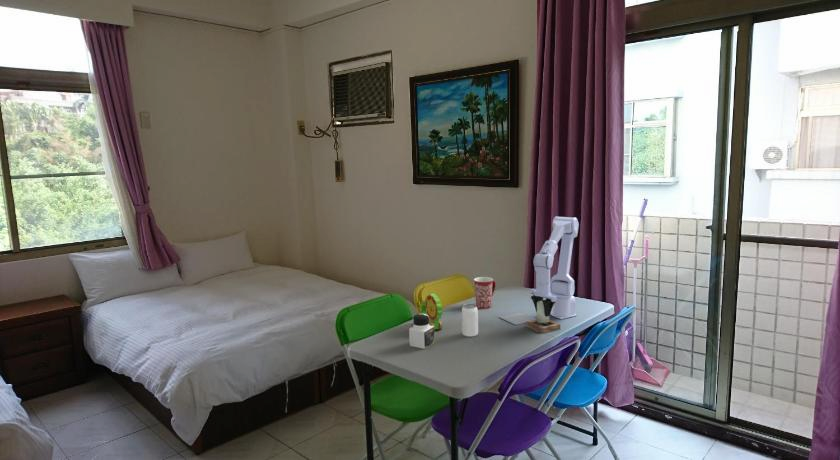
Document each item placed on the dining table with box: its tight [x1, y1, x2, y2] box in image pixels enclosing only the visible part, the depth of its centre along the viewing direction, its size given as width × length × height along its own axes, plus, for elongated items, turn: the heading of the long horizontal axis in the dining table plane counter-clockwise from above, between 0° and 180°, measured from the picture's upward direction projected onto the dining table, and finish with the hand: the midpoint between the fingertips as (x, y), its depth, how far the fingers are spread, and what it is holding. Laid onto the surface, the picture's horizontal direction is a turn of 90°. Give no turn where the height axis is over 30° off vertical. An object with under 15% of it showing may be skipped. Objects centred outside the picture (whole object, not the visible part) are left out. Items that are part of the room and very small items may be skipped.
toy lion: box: [420, 293, 444, 331], centre depth 220 cm, size 16×6×15 cm, turn 27°
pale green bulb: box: [536, 301, 550, 323], centre depth 216 cm, size 5×5×8 cm
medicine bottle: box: [408, 313, 435, 350], centre depth 201 cm, size 7×7×12 cm
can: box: [461, 303, 479, 338], centre depth 211 cm, size 6×6×12 cm
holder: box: [525, 318, 561, 334], centre depth 217 cm, size 10×10×2 cm
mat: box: [498, 311, 537, 326], centre depth 228 cm, size 12×12×1 cm
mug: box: [473, 276, 496, 310], centre depth 248 cm, size 13×9×14 cm
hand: (543, 314), depth 216 cm, fingers closed on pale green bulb, 5 cm apart
